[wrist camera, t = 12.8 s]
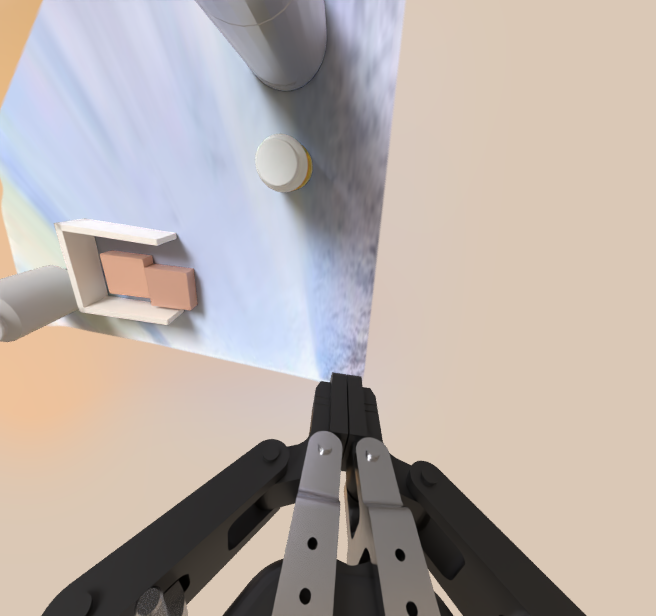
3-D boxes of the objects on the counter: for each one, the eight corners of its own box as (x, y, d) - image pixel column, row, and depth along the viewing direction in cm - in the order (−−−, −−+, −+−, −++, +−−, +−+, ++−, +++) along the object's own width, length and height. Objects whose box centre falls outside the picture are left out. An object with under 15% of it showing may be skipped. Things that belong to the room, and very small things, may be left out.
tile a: (113, 249, 40) (99, 253, 37) (153, 254, 40) (142, 259, 37) (121, 286, 42) (109, 293, 40) (159, 291, 42) (149, 298, 40)
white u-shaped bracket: (84, 218, 37) (53, 223, 33) (176, 233, 38) (156, 239, 34) (104, 299, 43) (79, 311, 39) (183, 311, 43) (167, 325, 39)
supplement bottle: (266, 181, 34) (241, 181, 26) (277, 134, 32) (253, 118, 23) (306, 196, 35) (294, 201, 26) (319, 151, 33) (311, 141, 24)
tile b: (155, 262, 40) (144, 267, 38) (194, 267, 40) (186, 273, 38) (161, 298, 43) (151, 305, 41) (198, 303, 43) (190, 310, 41)
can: (55, 253, 40) (-51, 281, 29) (100, 290, 42) (17, 328, 31) (33, 282, 42) (-73, 318, 31) (77, 315, 44) (-8, 359, 34)
